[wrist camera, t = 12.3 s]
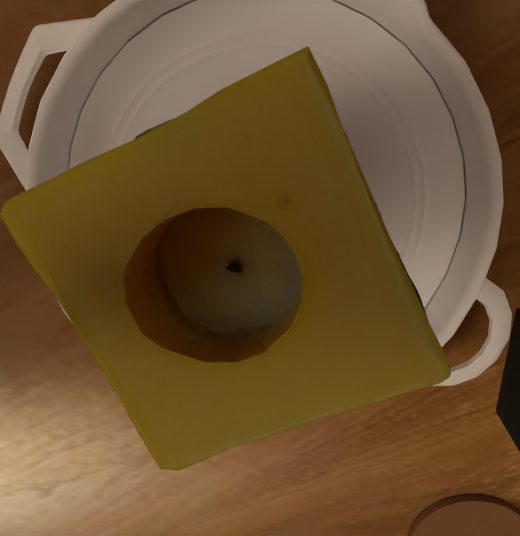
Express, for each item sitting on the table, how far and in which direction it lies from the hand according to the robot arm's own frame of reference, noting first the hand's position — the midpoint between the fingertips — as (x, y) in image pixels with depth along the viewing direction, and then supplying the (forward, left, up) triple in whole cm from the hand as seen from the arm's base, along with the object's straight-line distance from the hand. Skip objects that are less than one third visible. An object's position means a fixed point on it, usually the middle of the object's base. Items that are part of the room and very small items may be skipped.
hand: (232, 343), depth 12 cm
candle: (0, 0, -12) cm, 12 cm away
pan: (0, 0, -16) cm, 16 cm away
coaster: (+22, +14, -16) cm, 31 cm away
